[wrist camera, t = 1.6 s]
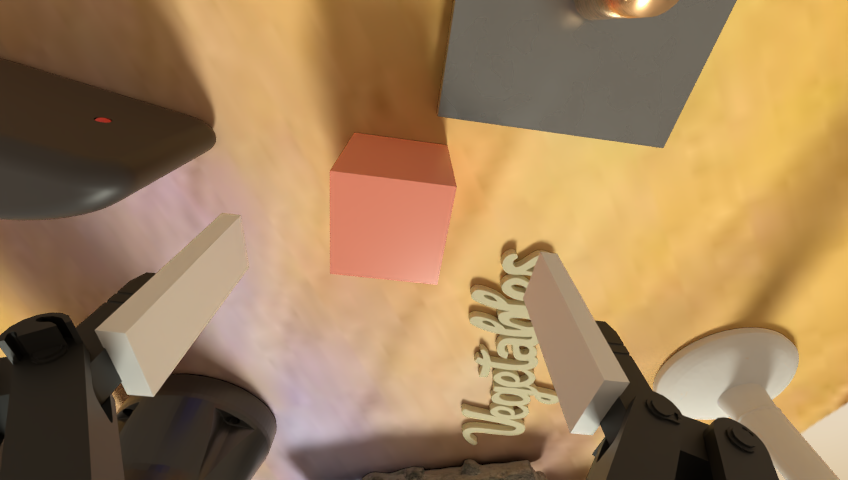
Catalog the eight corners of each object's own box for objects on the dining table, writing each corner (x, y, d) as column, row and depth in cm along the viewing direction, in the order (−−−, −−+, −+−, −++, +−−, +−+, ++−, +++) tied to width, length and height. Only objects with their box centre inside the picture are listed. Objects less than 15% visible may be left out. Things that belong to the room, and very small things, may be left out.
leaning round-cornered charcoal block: (-54, 108, 21) (-341, 156, 13) (-84, 24, 19) (-452, 22, 11) (223, 185, 24) (124, 264, 16) (225, 120, 22) (111, 174, 14)
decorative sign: (548, 442, 40) (461, 445, 40) (545, 434, 41) (460, 436, 41) (598, 250, 26) (465, 255, 26) (592, 243, 27) (463, 248, 27)
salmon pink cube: (351, 215, 25) (330, 273, 19) (354, 132, 22) (329, 170, 16) (433, 225, 26) (437, 284, 20) (447, 145, 23) (456, 186, 17)
